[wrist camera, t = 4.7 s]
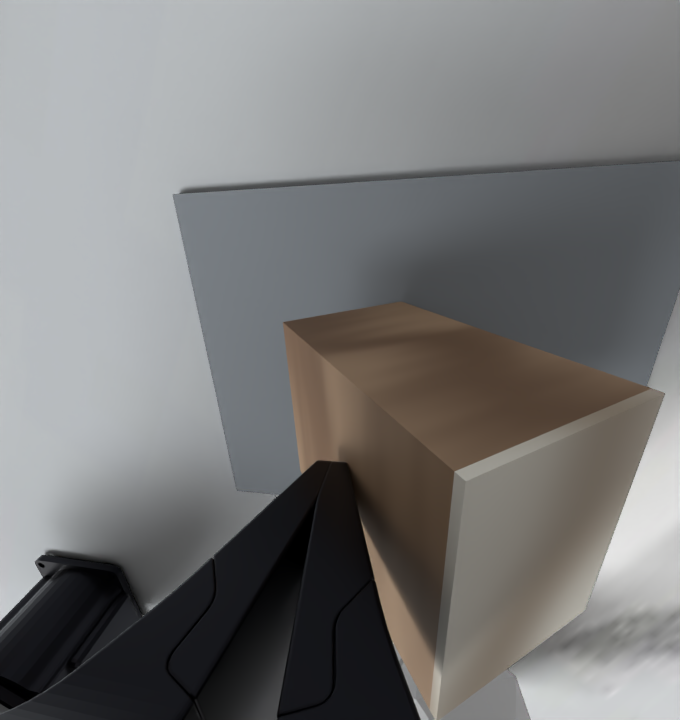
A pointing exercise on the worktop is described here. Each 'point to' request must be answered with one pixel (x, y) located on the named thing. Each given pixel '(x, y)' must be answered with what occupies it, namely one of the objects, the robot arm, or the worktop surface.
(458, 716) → the die
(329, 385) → the wooden block
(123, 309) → the worktop surface
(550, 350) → the rubber mat
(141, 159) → the worktop surface
